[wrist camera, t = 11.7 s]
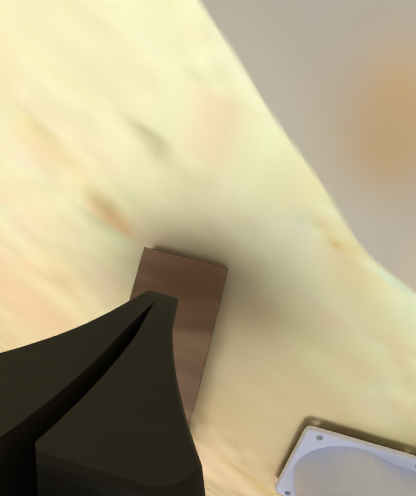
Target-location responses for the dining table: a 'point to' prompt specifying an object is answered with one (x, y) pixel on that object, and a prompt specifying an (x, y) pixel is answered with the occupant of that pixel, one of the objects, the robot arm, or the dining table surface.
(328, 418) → the dining table surface
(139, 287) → the brown wooden block
